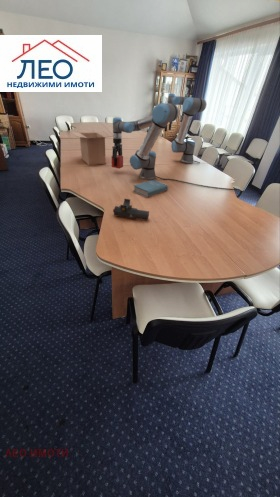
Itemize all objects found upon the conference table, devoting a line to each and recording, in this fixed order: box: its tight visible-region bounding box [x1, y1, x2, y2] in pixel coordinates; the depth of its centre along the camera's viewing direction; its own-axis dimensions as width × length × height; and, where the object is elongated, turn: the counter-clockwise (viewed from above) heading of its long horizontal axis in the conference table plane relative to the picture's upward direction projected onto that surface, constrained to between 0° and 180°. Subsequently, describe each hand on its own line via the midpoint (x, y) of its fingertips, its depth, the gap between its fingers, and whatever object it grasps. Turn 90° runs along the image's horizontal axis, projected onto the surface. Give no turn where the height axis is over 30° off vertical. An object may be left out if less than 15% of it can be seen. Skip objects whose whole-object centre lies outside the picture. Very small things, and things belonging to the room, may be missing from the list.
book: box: [133, 179, 169, 198], centre depth 177 cm, size 23×16×5 cm
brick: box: [111, 154, 124, 169], centre depth 204 cm, size 7×8×10 cm
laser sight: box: [112, 198, 150, 221], centre depth 138 cm, size 10×22×10 cm, turn 78°
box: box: [70, 129, 113, 166], centre depth 229 cm, size 44×36×27 cm
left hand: (117, 165), depth 206 cm, fingers closed on brick, 7 cm apart
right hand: (167, 130), depth 265 cm, fingers open, 13 cm apart
